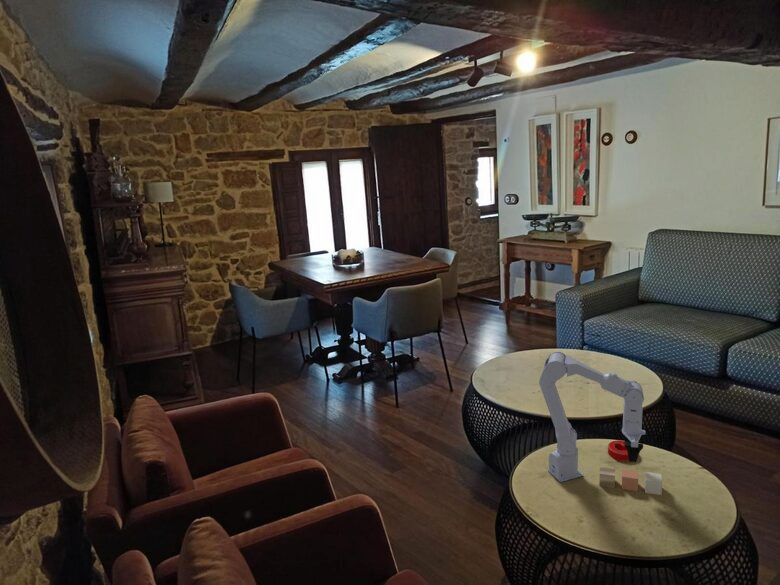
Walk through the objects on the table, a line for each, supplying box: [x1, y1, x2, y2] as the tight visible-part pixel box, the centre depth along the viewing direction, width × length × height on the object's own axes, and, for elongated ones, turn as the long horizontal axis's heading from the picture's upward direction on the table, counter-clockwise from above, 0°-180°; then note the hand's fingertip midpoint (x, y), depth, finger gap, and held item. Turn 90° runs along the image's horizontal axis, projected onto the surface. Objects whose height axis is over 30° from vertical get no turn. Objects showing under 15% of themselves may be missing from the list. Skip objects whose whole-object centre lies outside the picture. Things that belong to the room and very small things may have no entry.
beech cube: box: [598, 465, 616, 488], centre depth 183 cm, size 5×5×5 cm
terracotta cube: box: [621, 468, 639, 492], centre depth 180 cm, size 5×5×5 cm
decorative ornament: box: [607, 439, 629, 462], centre depth 199 cm, size 10×10×3 cm
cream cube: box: [644, 471, 663, 496], centre depth 177 cm, size 5×5×5 cm
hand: (631, 455), depth 181 cm, fingers open, 7 cm apart
